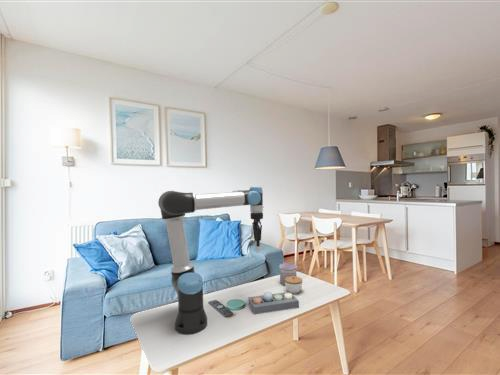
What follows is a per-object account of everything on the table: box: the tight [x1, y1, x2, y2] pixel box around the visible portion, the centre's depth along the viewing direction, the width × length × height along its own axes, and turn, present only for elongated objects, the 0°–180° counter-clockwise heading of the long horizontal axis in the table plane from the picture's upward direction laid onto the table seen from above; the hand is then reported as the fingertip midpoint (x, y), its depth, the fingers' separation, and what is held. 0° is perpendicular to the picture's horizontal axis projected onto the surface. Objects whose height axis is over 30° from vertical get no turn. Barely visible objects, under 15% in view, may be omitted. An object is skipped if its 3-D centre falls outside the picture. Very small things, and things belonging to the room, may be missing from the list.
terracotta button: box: [253, 296, 261, 304], centre depth 137 cm, size 4×4×4 cm
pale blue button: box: [263, 291, 273, 302], centre depth 139 cm, size 4×4×4 cm
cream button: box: [284, 293, 292, 299], centre depth 142 cm, size 4×4×4 cm
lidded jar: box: [284, 275, 303, 295], centre depth 157 cm, size 11×11×9 cm
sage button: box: [274, 293, 282, 301], centre depth 140 cm, size 4×4×4 cm
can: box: [279, 262, 298, 287], centre depth 170 cm, size 11×11×12 cm
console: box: [248, 291, 300, 315], centre depth 140 cm, size 25×12×4 cm, turn 104°
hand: (257, 251), depth 153 cm, fingers closed
